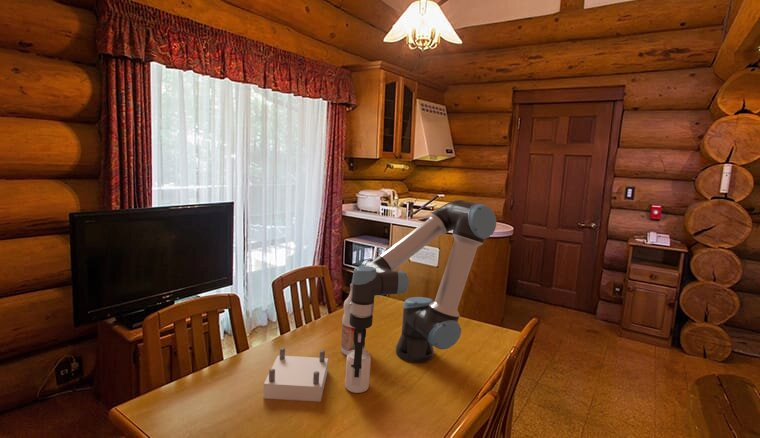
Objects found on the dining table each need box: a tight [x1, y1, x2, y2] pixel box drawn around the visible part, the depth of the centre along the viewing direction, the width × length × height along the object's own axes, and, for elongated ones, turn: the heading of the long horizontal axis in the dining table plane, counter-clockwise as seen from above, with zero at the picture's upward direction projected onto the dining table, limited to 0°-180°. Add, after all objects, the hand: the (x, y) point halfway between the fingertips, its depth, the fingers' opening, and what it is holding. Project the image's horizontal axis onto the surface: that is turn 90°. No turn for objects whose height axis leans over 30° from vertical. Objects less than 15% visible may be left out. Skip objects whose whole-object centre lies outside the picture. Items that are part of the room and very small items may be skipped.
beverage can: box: [344, 349, 372, 394], centre depth 134 cm, size 8×8×12 cm
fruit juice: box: [340, 282, 366, 356], centre depth 157 cm, size 9×9×28 cm
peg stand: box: [263, 347, 329, 402], centre depth 134 cm, size 18×18×8 cm
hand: (356, 373), depth 134 cm, fingers open, 13 cm apart
